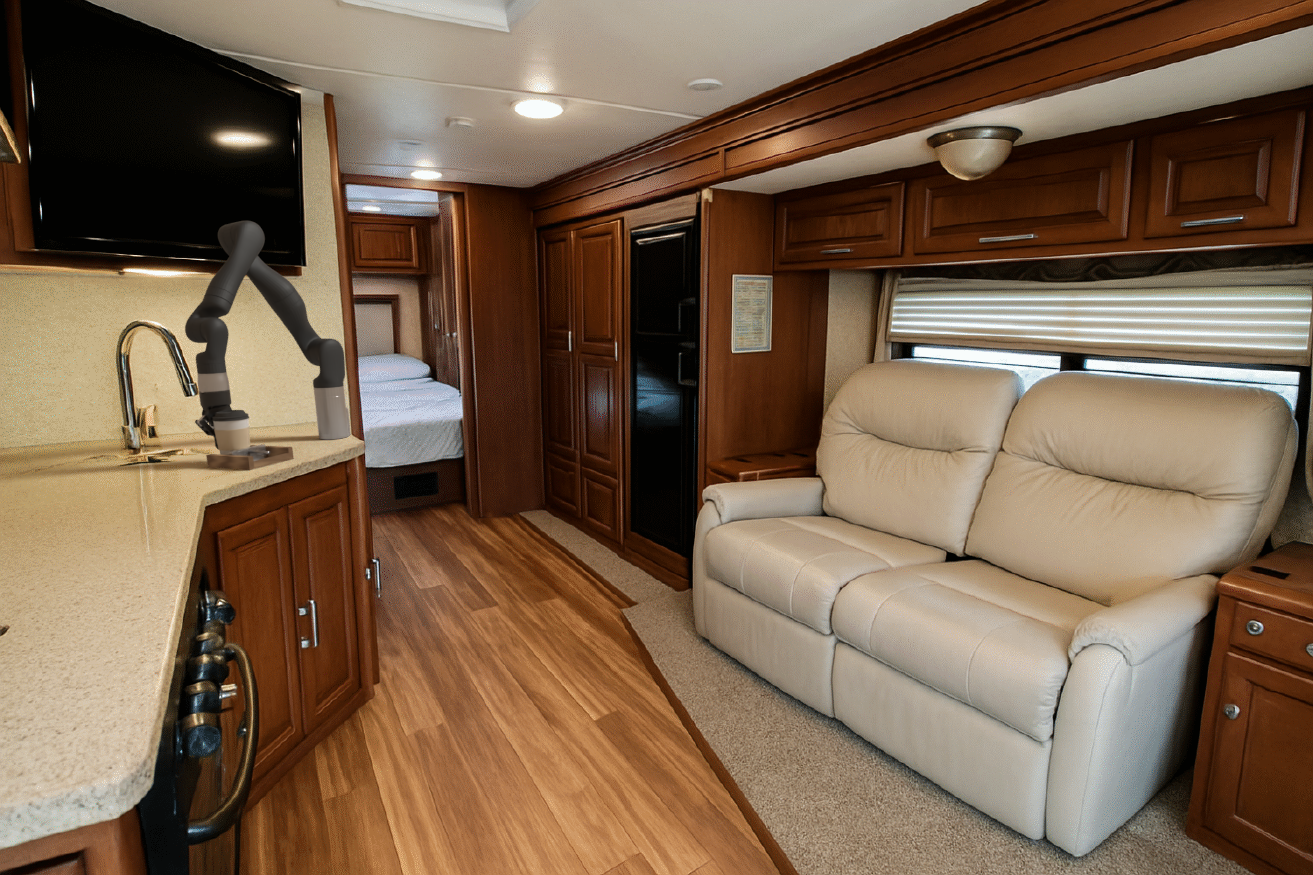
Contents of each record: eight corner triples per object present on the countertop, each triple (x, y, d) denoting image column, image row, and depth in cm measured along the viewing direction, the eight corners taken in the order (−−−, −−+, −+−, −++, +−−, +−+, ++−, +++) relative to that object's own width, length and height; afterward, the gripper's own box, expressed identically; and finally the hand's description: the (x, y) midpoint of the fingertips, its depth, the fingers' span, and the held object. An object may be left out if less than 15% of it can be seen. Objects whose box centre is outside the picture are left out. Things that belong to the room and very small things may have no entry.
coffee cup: (211, 463, 201) (204, 411, 198) (243, 457, 209) (237, 407, 206) (228, 466, 196) (221, 413, 194) (260, 460, 204) (254, 409, 201)
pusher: (230, 465, 196) (228, 451, 196) (263, 457, 207) (261, 444, 206) (253, 467, 194) (251, 452, 193) (285, 459, 204) (284, 445, 203)
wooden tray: (207, 467, 196) (206, 455, 196) (253, 456, 210) (252, 445, 210) (249, 470, 192) (248, 457, 191) (293, 458, 206) (292, 446, 205)
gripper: (224, 386, 208) (232, 444, 211) (182, 391, 196) (190, 453, 199) (244, 386, 206) (251, 445, 209) (202, 392, 193) (210, 454, 196)
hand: (221, 449), depth 204 cm, fingers closed
